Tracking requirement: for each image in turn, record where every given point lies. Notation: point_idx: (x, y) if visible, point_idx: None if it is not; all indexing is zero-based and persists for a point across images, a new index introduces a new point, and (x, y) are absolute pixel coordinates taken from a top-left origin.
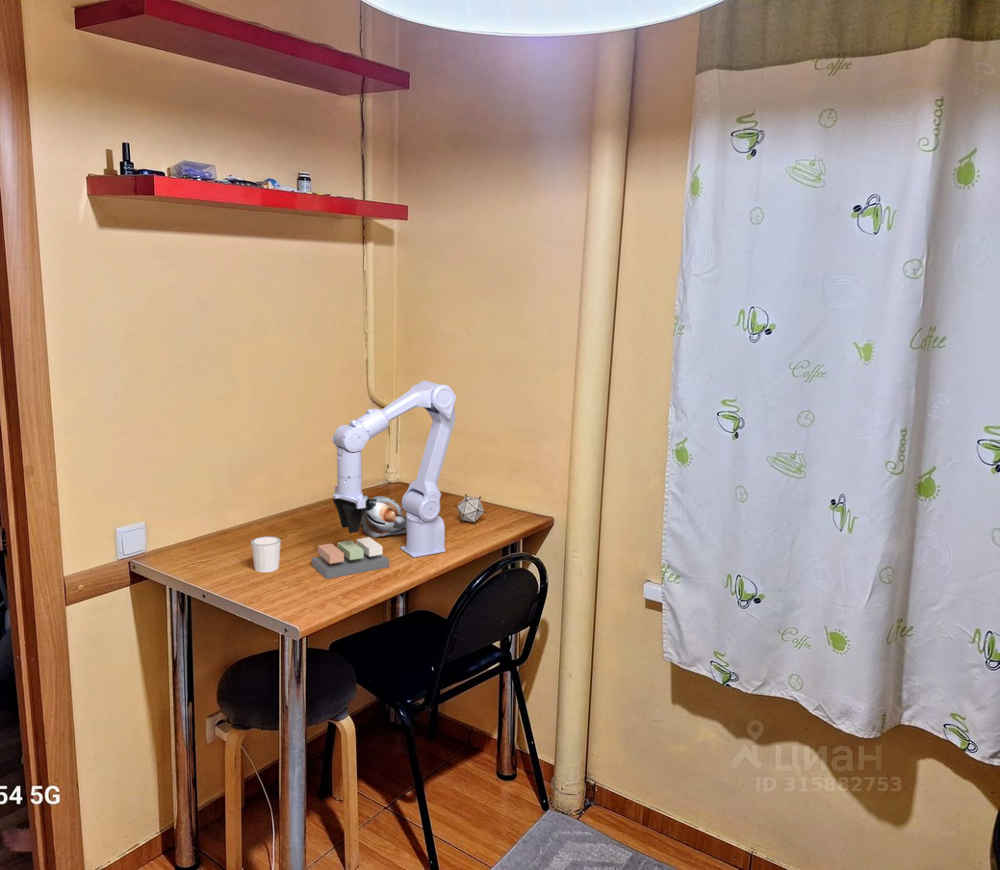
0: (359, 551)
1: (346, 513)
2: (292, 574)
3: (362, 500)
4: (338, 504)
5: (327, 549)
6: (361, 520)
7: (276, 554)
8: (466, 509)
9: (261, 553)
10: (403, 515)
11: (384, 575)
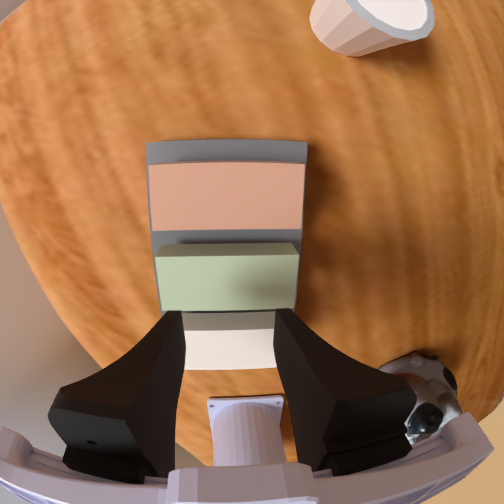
0: (161, 293)
1: (117, 378)
2: (252, 59)
3: (5, 487)
4: (323, 400)
5: (232, 183)
6: (440, 366)
7: (331, 16)
8: None
9: None
10: None
11: (117, 305)
